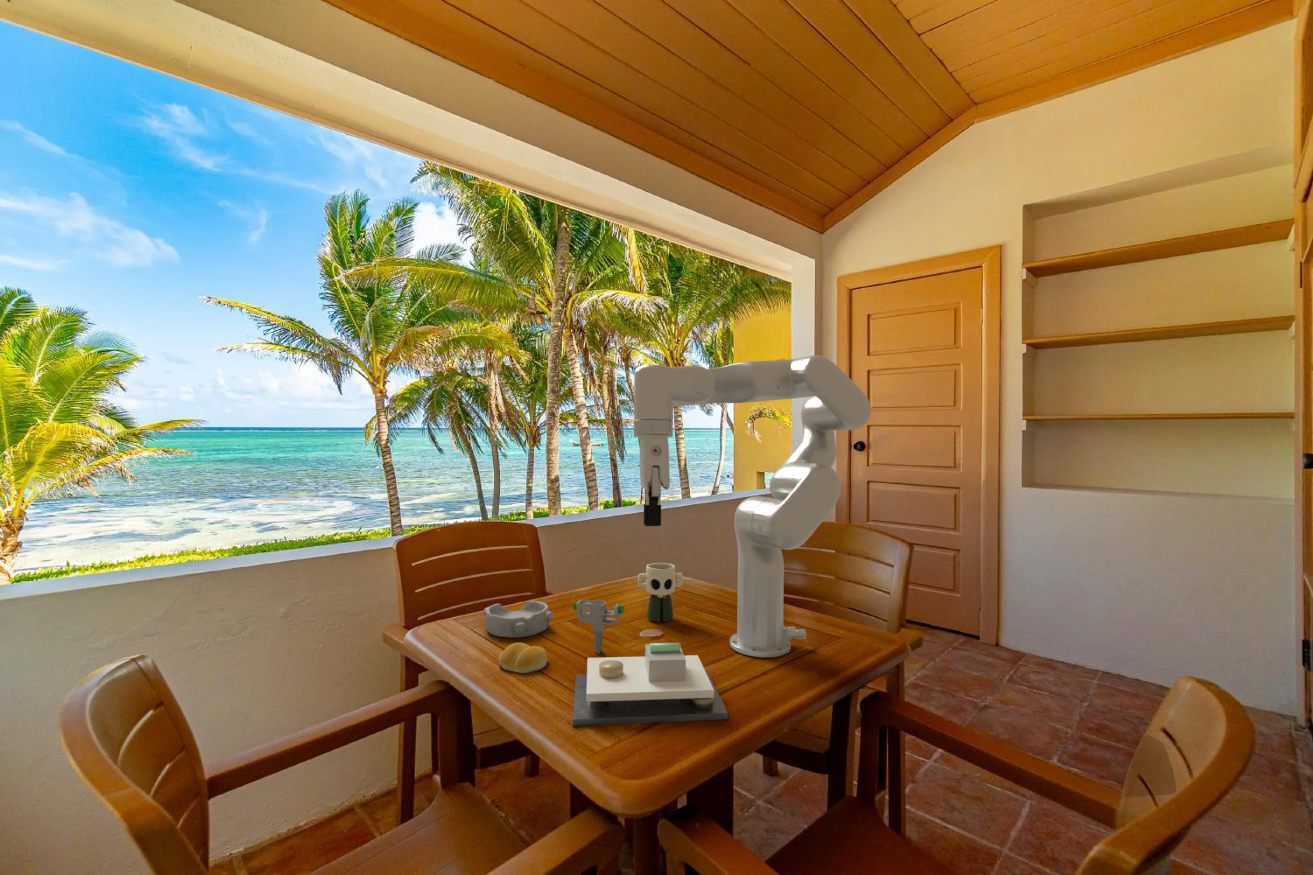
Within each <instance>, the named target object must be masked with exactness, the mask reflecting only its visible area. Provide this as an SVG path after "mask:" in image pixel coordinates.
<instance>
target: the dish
mask: <svg viewBox="0 0 1313 875" xmlns="http://www.w3.org/2000/svg"><path fill="white" fill-rule="evenodd" d="M483 615H484V617H485V619H484V620H485V628H486V630H487V632H488V633H489V634H491V635H493V636H496V637H501V638H502V637H503V638H513V639H514V638H525V637H530V636H534V635H537V634H539V633H541V632H544V631H545V630H547V629H548V627H549V624H550V623H551V622H552V621H553V617H554V616H553V612H552V611H550V609H549V606H548V604H547V603H545V602H542V601H539V600H537V601H536V600H528V601H527V603H526V604H525V605H524V606H523V607H522V608H520V609H518V610H508V609H507V608H506V607H504V606H502V604H501V603H494V604H492V605H490V606H488V607H485V608H484V609H483Z"/></svg>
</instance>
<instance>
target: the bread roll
mask: <svg viewBox="0 0 1313 875" xmlns="http://www.w3.org/2000/svg"><path fill="white" fill-rule="evenodd" d="M547 662H548V654H547V652H546V650H545V649H544V648H543V647H542V646H537V645H532V646H530V645H529V644H527V643H524V642H513V643H511V644H510V645H508V646H507V647H505V649H504V650H503V651H502V652H501V653H500V654H499V657H498V663H499V665H500V666H501V668H502V669H504V670H505V671H508V670H509V672H514V673H517V672H519V673H518V674H527V673H528V674H529V673H532V671H533V672H536V671H540V670H541V669H543V668H544V667H545V666H546V665H547Z"/></svg>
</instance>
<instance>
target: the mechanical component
mask: <svg viewBox="0 0 1313 875" xmlns="http://www.w3.org/2000/svg"><path fill="white" fill-rule="evenodd" d="M586 609H588V610H589V611H587V610H586ZM624 609H625V607H624V605H621V604H619V603H616V604H615V606H614V608H613V609H612V610H611V609H609V607H608V606H607V602H606V601H604V600H603V601H602V600H589V599H580V600H579V601H574V603H573V610H574V611H576V619H577V620H578V622H579V623H585V624H586V623H588V624H592V628H591V630H592V631H593V632H594V642H593V643H594V650H593V651H594V653H595V654H601V652H602V651H603V632H604V631H606V628H605V625H612V626H613V625H615V624H616V623H618V621H619V620H620V618H621V614H622V615H623V614H624V611H625V610H624ZM608 616H609V617H615V618H609V617H608ZM607 617H608V618H607Z"/></svg>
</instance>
